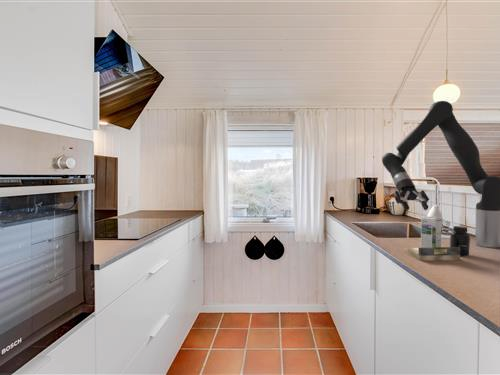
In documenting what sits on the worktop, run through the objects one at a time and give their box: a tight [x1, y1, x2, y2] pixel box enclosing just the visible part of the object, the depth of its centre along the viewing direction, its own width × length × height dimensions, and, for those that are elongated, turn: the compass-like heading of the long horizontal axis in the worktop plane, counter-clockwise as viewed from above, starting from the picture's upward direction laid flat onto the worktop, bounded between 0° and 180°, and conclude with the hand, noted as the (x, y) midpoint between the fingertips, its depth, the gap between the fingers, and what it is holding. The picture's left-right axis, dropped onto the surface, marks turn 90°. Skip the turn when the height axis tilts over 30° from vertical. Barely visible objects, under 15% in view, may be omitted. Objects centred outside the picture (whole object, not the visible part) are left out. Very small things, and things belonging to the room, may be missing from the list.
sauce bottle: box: [426, 203, 444, 229], centre depth 167 cm, size 8×8×18 cm
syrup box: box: [420, 215, 443, 248], centre depth 120 cm, size 6×6×14 cm
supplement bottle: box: [449, 225, 471, 257], centre depth 122 cm, size 7×7×12 cm
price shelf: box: [403, 246, 461, 262], centre depth 120 cm, size 16×12×5 cm
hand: (417, 209), depth 129 cm, fingers open, 8 cm apart
